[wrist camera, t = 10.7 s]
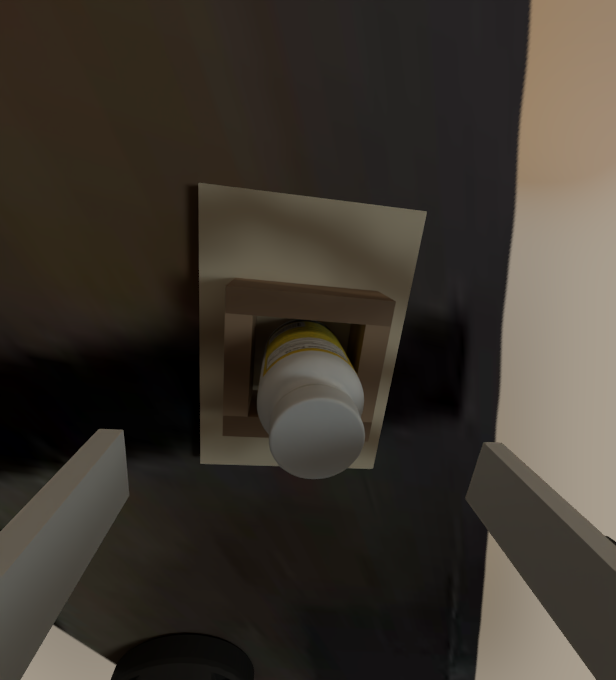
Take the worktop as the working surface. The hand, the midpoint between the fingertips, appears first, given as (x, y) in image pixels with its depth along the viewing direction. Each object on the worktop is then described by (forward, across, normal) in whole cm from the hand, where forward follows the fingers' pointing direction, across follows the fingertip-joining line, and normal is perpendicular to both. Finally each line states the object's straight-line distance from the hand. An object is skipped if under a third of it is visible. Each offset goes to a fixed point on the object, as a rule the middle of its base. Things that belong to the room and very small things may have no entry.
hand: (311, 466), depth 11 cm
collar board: (+12, 0, 0) cm, 12 cm away
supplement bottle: (+11, 0, 0) cm, 11 cm away
